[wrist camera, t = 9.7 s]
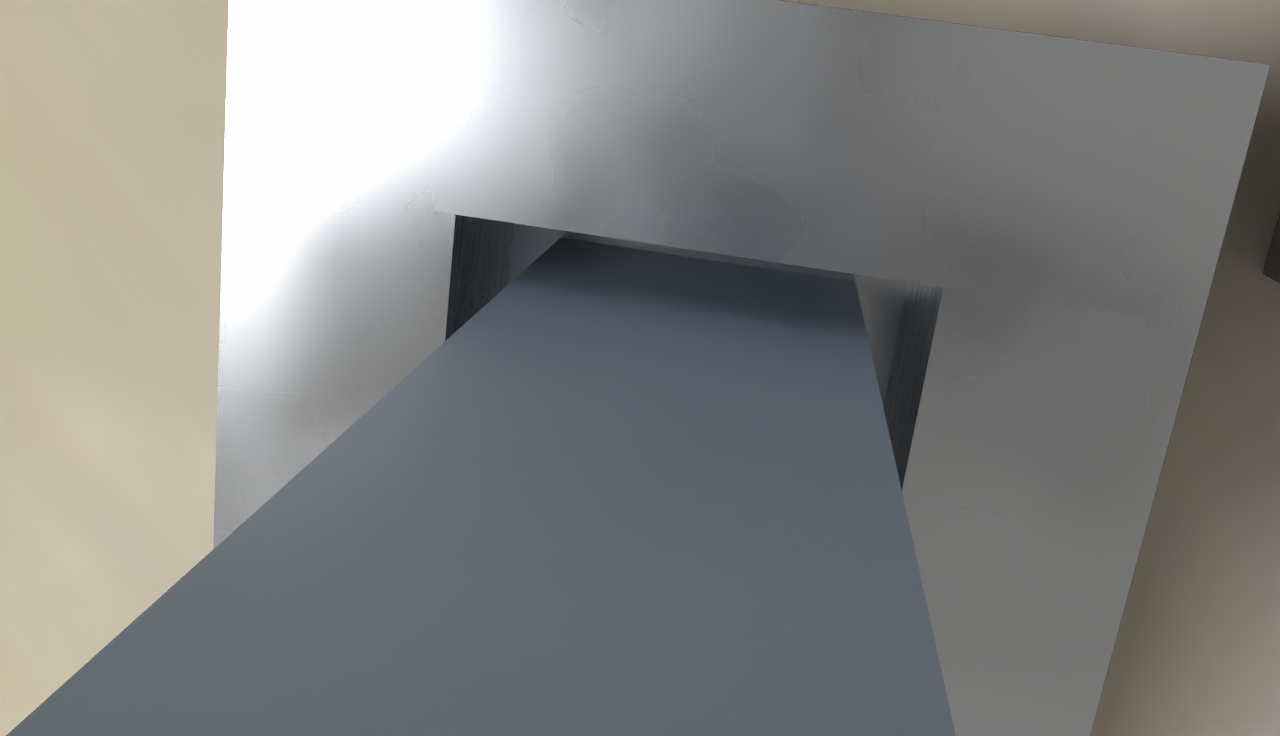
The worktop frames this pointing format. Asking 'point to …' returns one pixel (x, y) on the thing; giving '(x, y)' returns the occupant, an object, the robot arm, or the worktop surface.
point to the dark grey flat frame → (1274, 257)
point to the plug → (568, 537)
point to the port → (763, 253)
